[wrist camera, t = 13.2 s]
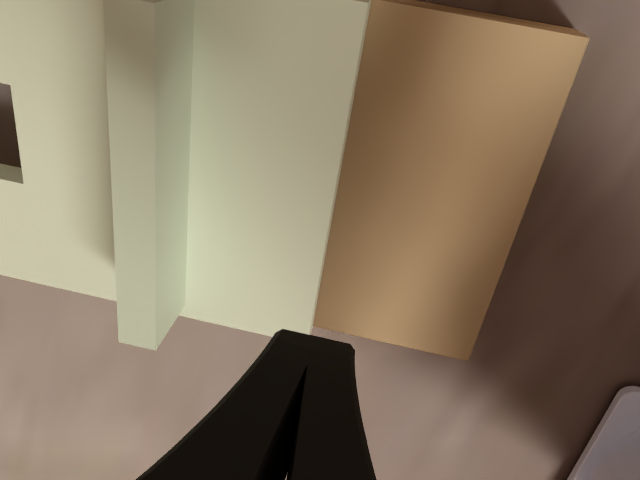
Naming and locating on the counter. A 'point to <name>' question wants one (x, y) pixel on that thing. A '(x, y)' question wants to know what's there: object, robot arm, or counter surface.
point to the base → (439, 169)
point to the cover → (178, 154)
